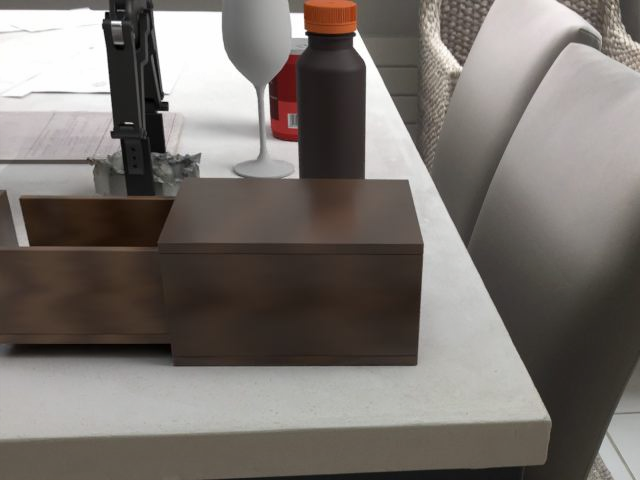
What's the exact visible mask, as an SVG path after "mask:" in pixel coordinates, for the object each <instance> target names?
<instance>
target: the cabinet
mask: <svg viewBox="0 0 640 480" xmlns="http://www.w3.org/2000/svg"><path fill="white" fill-rule="evenodd" d="M411 189H412V188H411V184H410V180H409V179H405V178H404V179H402V178H401V179H394V178H393V179H391V178H389V179H388V178H387V179H386V178H365V179H299V178H295V177H294V178H289V177H288V178H286V177H281V178H247V177H200V178H185V177H184V178H183V180H182V183H181V185H180V188H179V190H178V193H177V195H176V198H175V200H174V203H173V205H172V208H171V210H170V213H169V215H168V218H167V220H166V223H165V225H164V228H163V230H162V232H161V235H160V237H159V240H158V242H157V244H158V251H159V258H160V266H161V273H162V281H163V289H164V296H165V304H166V311H167V319H168V327H169V334H170V342H171V344H170V349H171V356H172V364H173V366H176V367H177V366H178V367H180V366H181V367H183V366H184V367H186V366H188V367H193V366H195V367H196V366H201V367H202V366H204V367H206V366H209V367H210V366H211V367H213V366H219V367H220V366H417V365H418V362H419V346H420V345H419V343H420V327H421V326H420V325H421V324H420V323H421V309H422V307H421V306H422V288H423V272H424V271H423V270H424V254H425V253H424V252H425V250H424V249H425V242H424V239H423V234H422V231H421V225H420V221H419V218H418V213H417V209H416V205H415V201H414V197H413V193H412V190H411Z"/></svg>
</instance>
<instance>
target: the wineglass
mask: <svg viewBox="0 0 640 480" xmlns="http://www.w3.org/2000/svg"><path fill="white" fill-rule="evenodd" d="M291 19H292V18H291V11H290V4H289V0H222V2H221V35H222V37H221V38H222V43H223V49H224V51H225V54H226V56H227V58H228V60H229V61H230V62H231V64H232V65H233V66H234V68H235V69H236V70H237V71H238V72H239V73H240V74H241V75H242V76H243V77H244V78H245V79H246V80H247V81H248V82H249V83H250V84H252V86H253V88H254V89H255V93H256V98H257V113H258V132H259V133H258V134H259V153H258V156H257V157H256V159H249V160H245V161H241V162H239V163H237V164H236V165H235V166H234V168H233V171H234V173H235V174H236V175H238V176H240V177H242V178H286V177H288V176H290V175H292V174H293V173H295V165H294V164H292V163H290V162H288V161H284V160H281V159H273V158H271V156H270V154H269V152H268V148H267V134H266V133H267V132H266V113H265V92H266V91H265V90H266V88H267V86H268V83H269V82H270V81H271V80H272V79H273V78H274V77H275V76H276V75H277V74H278V72H279V71H280V70H281V69H282V68H283V66H284V65H285V63H286V61H287V60H288V57H289V54H290V51H291V42H292V38H293V33H292V31H293V30H292V29H293V28H292V20H291Z"/></svg>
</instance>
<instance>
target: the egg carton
mask: <svg viewBox="0 0 640 480" xmlns="http://www.w3.org/2000/svg"><path fill="white" fill-rule="evenodd" d="M151 159H152V168H153V177H154V186H155V195H156V196H176V195H177V193H178V190H179V188H180V185H181V183H182V180H183V178H184V177H185V178H201V174H200V166H199V165H200V164H201V159H202V152H198V153H196V154H192V155H190V154H188V153H186V154H185V155H182V154H180V153H177V154H175V155H173V154H172V152H170V151H167V150H166V153H155V152H152V153H151ZM86 163H87V164H89V165H90V167H93V168H92V175H93V184H94V192H95V194H96V195H97V196H127V189H126V182H125V174H124V166H123V159H122V151H121V149H120V150H117V151H115V152H114V153H112V154H107V156H106V159H104V158H103V157H102V158H101V159H99V160H98V159H96V158H95V157H91V156H89V157H88V156H87V158H86Z"/></svg>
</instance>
